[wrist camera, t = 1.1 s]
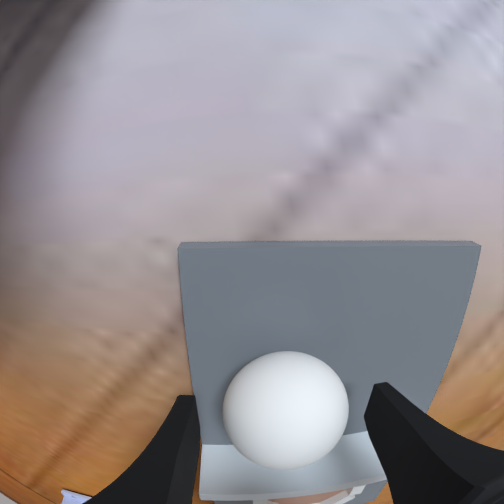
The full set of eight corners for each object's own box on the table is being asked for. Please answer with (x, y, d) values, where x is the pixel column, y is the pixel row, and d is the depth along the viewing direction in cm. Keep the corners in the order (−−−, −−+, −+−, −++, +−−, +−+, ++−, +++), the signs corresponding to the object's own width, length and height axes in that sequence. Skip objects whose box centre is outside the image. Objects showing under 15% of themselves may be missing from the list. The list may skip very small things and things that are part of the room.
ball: (226, 410, 14) (225, 493, 10) (220, 329, 13) (216, 418, 8) (323, 404, 15) (348, 481, 10) (338, 324, 13) (381, 403, 8)
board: (218, 511, 20) (218, 551, 16) (181, 242, 12) (156, 287, 8) (372, 494, 21) (384, 528, 17) (471, 241, 13) (528, 271, 9)
